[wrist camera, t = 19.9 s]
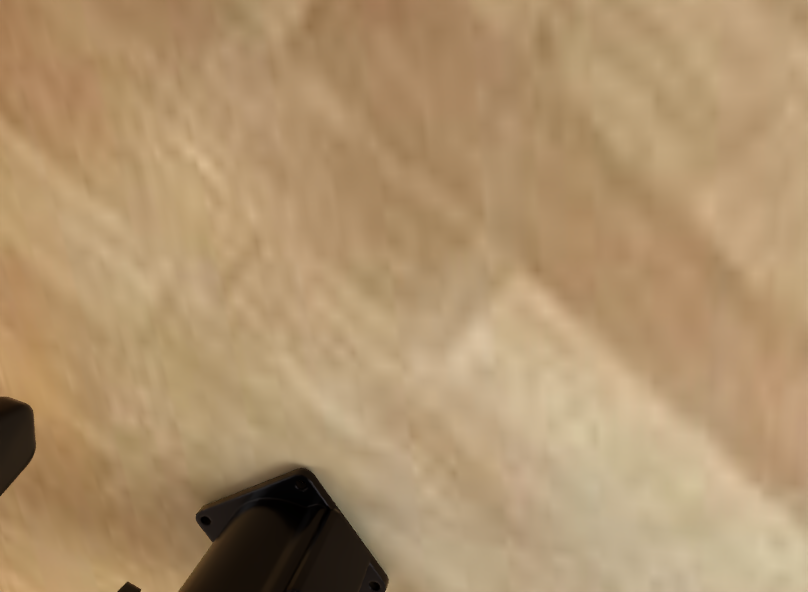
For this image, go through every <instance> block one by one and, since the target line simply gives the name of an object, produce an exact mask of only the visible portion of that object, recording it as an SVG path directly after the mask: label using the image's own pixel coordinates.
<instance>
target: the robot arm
mask: <svg viewBox="0 0 808 592" xmlns="http://www.w3.org/2000/svg"><path fill="white" fill-rule="evenodd" d="M35 449H36V440H35V427H34V414H33V410H32V408H31V407H30V405H28V404H26V403H23V402H21V401H18V400H15V399H13V398H10V397H0V496H1V495H2V494H3V493H4V491H5V490H6V489H7V488H8V487H9V486H10V485H11V483H12V482H13V481H14V480H15V479H16V478H17V476H18V475H19V474H20V473H21V472H22V471H23V470H24V468H25V467H26V466H27V465H28V464H29V462H30V461H31V459H32V457H33V455H34V453H35ZM300 480H302V481H304V482H305V483H306V484H305V483H302V482H301V481H300ZM196 521H197V523H198V524H199V525H200V527H201V528H202V529H203V531H204V532H205V533H206V534H207V536H208V537H209V538H210V539H211V541H212V542H213V544H212V545H211V547H210V548H209V549H208V551H207V552H206V554H205V555H204V556H203V558H202V559H201V561H200V562H199V563H198V565H197V566H196V568H195V569H194V571H193V572H192V573H191V575H190V576H189V578H188V579H187V580H186V582H185V583H184V585H183V586H182V587H181V589H180V590H179V592H385V591H386V588H387V586H388V583H389V579H388V577H387V575H386V574H385V572H384V571H383V570H382V568H381V567H380V565H379V564H378V563H377V561H376V560H375V558H374V557H373V556H372V554H371V553H370V552H369V550H368V549H367V547H366V546H365V545H364V543H363V542H362V540H361V539H360V538H359V536H358V535H357V533H356V532H355V531H354V529H353V528H352V527H351V525H350V524H349V522H348V521H347V520H346V518H345V517H344V515H343V514H342V513H341V511H340V510H339V509H338V507H337V506H336V504H335V503H334V502H333V500H332V499H331V497H330V496H329V495H328V493H327V492H326V490H325V489H324V488H323V486H322V485H321V484H320V482H319V481H318V479H317V478H316V477H315V475H314V474H313V473H312V472H311V471H309V470H307V469H303V468H300V469H296V470H294V471H291V472H289V473H286V474H284V475H281V476H279V477H276V478H273V479H271V480H268V481H266V482H263V483H261V484H258V485H256V486H253V487H251V488H248V489H245V490H243V491H240V492H238V493H235V494H233V495H230V496H228V497H225V498H223V499H220V500H217V501H215V502H212V503H210V504H207V505H205V506H203V507H202V508H201V509H200V510H199V512H198V513H197V514H196ZM118 592H141V589H140V588H138V587H136V586H135V585H133V584H131V583H130V582H127V583H125V584H124V586H123V587H122V588H121V589H120V590H119V591H118Z"/></svg>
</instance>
